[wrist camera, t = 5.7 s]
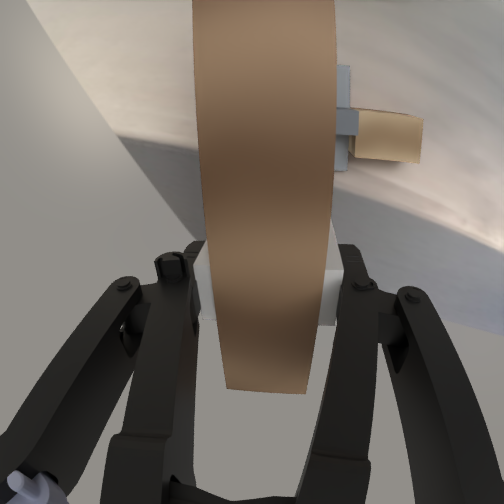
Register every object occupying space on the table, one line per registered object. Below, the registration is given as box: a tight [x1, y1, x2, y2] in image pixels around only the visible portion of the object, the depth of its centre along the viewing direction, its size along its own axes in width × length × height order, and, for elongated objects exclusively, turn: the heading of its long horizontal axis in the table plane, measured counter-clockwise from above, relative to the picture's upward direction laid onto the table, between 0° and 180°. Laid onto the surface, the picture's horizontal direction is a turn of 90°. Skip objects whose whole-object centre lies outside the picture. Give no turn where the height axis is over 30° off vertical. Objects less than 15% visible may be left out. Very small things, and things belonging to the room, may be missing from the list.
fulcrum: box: [334, 65, 359, 171], centre depth 24 cm, size 10×12×5 cm
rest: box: [348, 108, 423, 164], centre depth 24 cm, size 4×6×4 cm, turn 92°
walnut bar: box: [192, 0, 337, 394], centre depth 10 cm, size 22×4×4 cm, turn 2°
